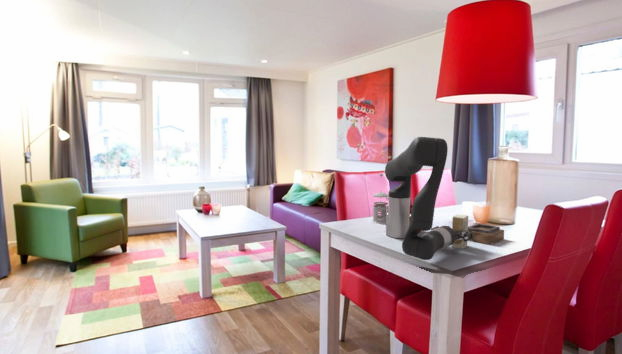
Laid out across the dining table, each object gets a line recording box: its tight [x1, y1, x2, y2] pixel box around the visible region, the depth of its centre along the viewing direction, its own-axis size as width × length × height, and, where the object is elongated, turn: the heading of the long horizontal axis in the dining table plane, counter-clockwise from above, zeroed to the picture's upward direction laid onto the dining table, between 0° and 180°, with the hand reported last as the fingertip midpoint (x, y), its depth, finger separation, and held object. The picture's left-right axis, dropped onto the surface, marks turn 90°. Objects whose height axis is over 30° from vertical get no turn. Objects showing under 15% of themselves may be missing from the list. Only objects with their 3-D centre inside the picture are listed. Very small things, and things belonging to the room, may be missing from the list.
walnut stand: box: [468, 223, 505, 246], centre depth 159 cm, size 12×13×5 cm
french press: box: [371, 173, 389, 224], centre depth 195 cm, size 10×12×25 cm
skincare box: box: [451, 214, 469, 250], centre depth 148 cm, size 6×4×12 cm
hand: (459, 230), depth 147 cm, fingers open, 8 cm apart
